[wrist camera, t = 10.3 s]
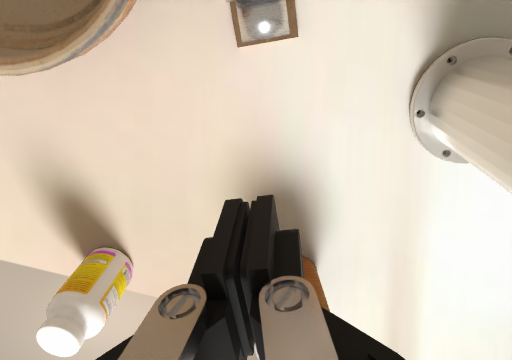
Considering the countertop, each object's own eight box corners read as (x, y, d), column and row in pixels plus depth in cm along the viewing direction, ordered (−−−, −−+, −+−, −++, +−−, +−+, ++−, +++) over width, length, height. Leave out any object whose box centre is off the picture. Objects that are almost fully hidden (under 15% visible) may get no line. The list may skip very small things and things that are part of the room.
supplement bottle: (79, 261, 48) (13, 336, 37) (108, 236, 46) (48, 308, 34) (115, 290, 50) (63, 371, 38) (144, 268, 48) (100, 347, 36)
